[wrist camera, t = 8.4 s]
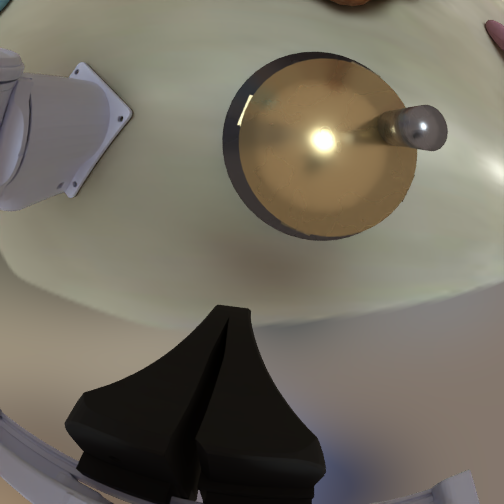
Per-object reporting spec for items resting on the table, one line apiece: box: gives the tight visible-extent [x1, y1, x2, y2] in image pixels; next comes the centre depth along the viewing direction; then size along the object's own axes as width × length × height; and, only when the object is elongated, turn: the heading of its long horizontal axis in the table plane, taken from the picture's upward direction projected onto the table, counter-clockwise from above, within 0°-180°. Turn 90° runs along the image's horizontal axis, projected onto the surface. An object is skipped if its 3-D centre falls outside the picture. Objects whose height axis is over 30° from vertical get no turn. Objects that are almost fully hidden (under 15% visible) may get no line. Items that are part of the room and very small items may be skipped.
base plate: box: [222, 52, 385, 241], centre depth 17 cm, size 13×13×1 cm
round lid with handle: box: [237, 58, 448, 237], centre depth 13 cm, size 10×10×7 cm
